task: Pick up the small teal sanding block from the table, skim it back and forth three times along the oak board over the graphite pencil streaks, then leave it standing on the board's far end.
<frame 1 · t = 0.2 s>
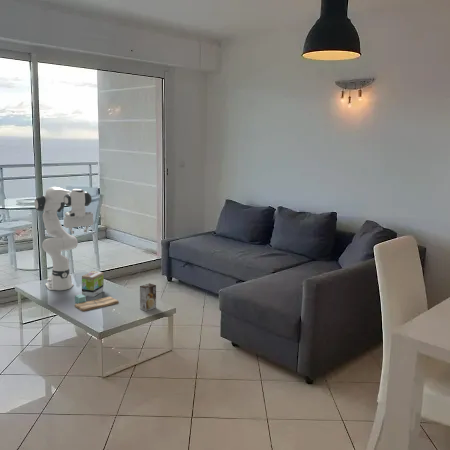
hand: (79, 232, 311), 47 cm above the table, fingers open, 8 cm apart
sanding block: (80, 303, 311), on the table
coffee box: (148, 308, 305), on the table
tea box: (92, 293, 331), on the table
board: (96, 304, 308), on the table
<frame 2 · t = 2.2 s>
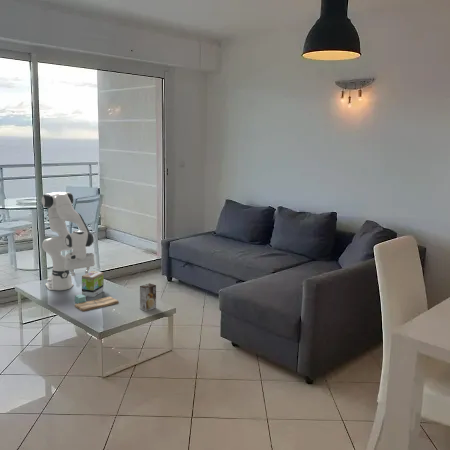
hand: (80, 274, 307), 20 cm above the table, fingers open, 8 cm apart
nothing on the table moved.
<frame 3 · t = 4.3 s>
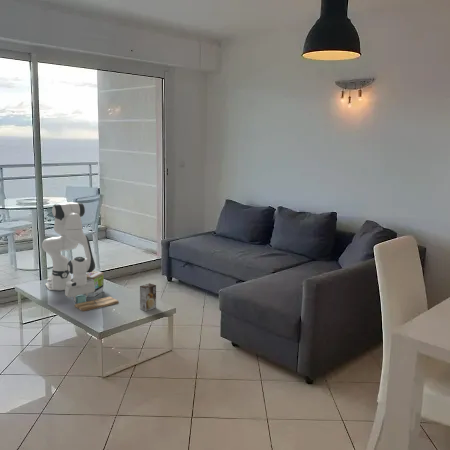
hand: (80, 300, 310), 2 cm above the table, fingers closed on sanding block, 5 cm apart
sanding block: (80, 302, 311), on the table, touching gripper
everything else where it was.
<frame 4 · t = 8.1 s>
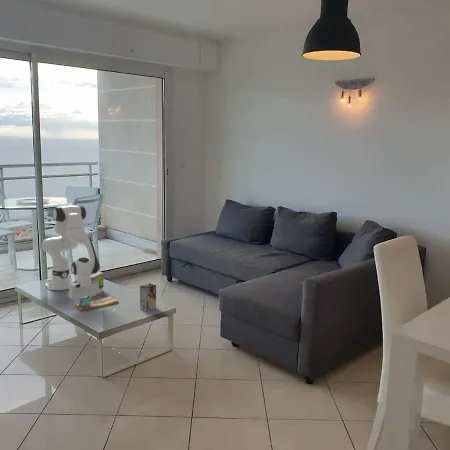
hand: (84, 302, 302), 3 cm above the table, fingers closed on sanding block, 5 cm apart
sanding block: (84, 304, 302), point 2 cm above the table, touching gripper
everything else where it was.
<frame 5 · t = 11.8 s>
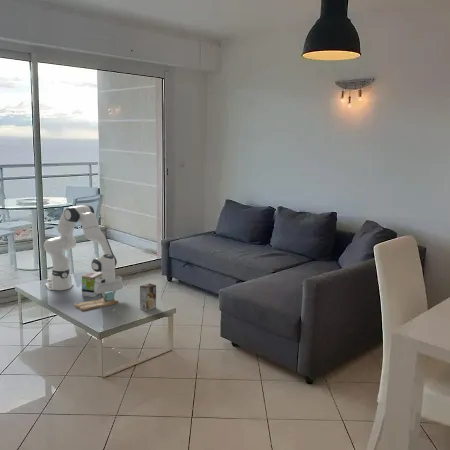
hand: (108, 297, 314), 3 cm above the table, fingers closed on sanding block, 5 cm apart
sanding block: (108, 299, 314), point 2 cm above the table, touching gripper
everything else where it was.
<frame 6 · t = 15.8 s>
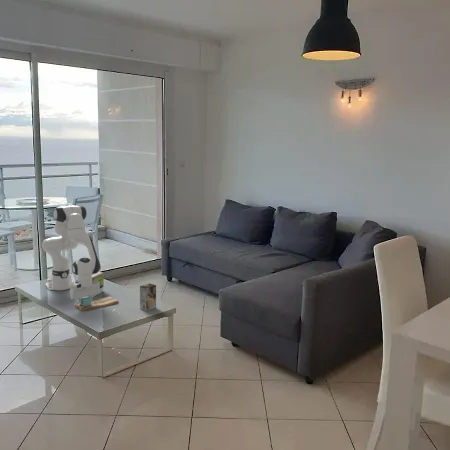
hand: (85, 302, 302), 3 cm above the table, fingers closed on sanding block, 5 cm apart
sanding block: (85, 305, 302), point 2 cm above the table, touching gripper
everything else where it was.
when the fingers open (3 cm above the table, at t = 19.6 s): sanding block stays where it is, resting on board.
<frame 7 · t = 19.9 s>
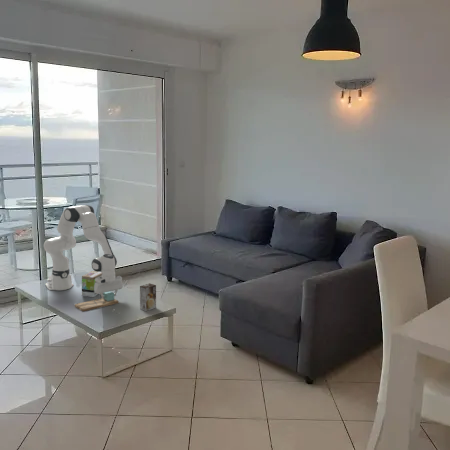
hand: (108, 297, 314), 3 cm above the table, fingers open, 7 cm apart
sanding block: (108, 299, 314), point 1 cm above the table, touching board
everything else where it was.
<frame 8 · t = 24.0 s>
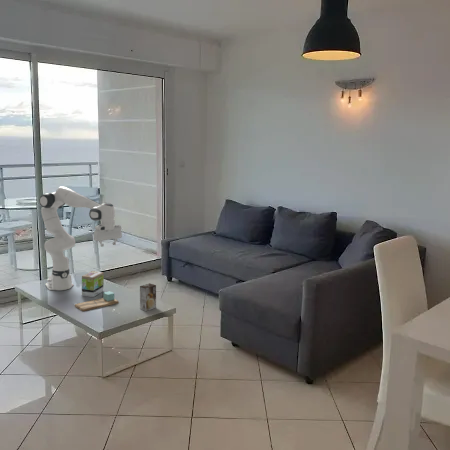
hand: (108, 245, 320), 37 cm above the table, fingers open, 8 cm apart
nothing on the table moved.
at the end: sanding block inside the target area on the board (0.3 cm from its centre), point 1.5 cm above the board's base; sanding block tilted 0°; the gripper is holding nothing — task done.
